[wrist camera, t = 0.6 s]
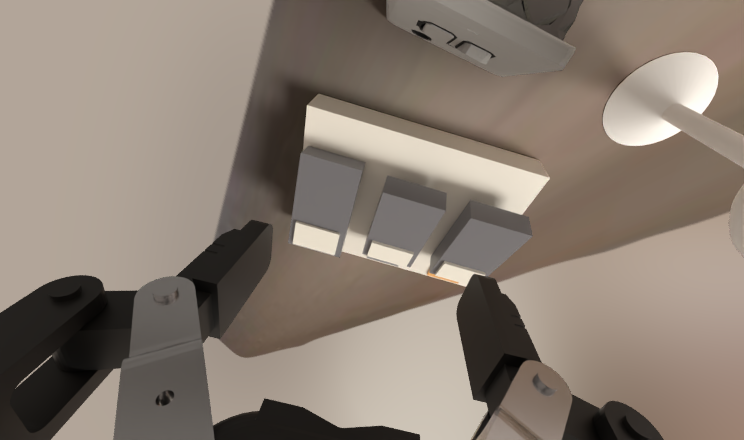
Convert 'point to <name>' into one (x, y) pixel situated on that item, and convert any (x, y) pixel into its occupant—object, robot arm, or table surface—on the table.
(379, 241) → the rocker middle
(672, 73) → the champagne flute
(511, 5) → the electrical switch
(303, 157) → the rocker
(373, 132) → the switch panel
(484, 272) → the block
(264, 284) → the table surface
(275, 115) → the table surface
